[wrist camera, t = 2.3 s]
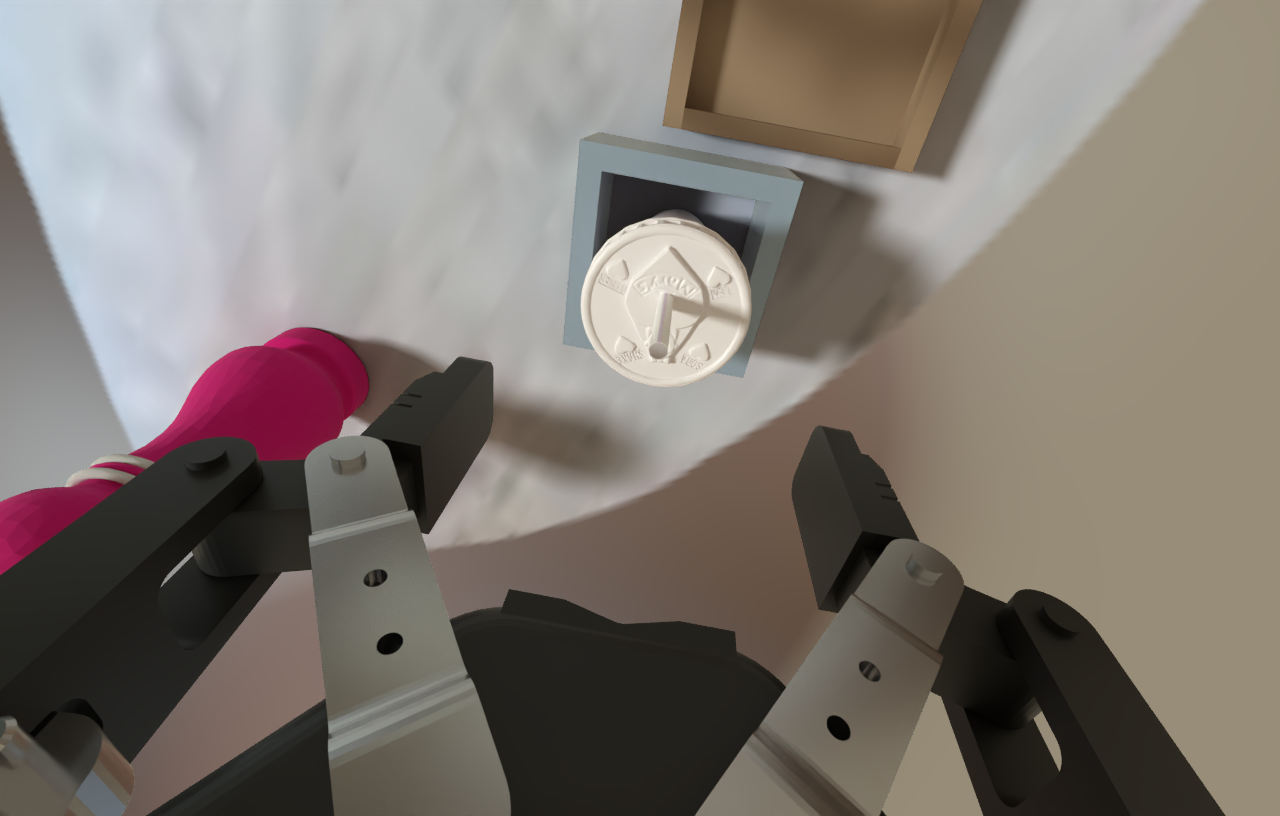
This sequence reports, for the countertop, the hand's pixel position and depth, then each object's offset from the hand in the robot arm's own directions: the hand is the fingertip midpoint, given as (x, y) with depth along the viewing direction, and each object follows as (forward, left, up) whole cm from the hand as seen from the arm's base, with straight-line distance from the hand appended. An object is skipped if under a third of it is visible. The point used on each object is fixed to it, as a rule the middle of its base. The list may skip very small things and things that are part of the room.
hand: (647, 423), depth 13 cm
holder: (0, 0, -17) cm, 17 cm away
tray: (-11, +4, -17) cm, 21 cm away
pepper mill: (+12, -21, -17) cm, 29 cm away
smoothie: (0, 0, -17) cm, 17 cm away
